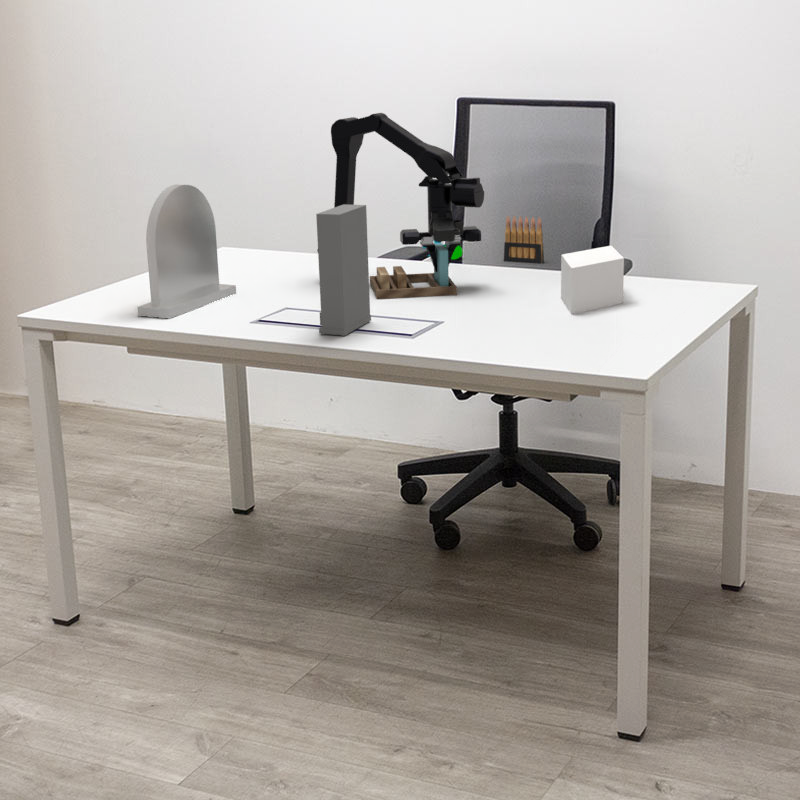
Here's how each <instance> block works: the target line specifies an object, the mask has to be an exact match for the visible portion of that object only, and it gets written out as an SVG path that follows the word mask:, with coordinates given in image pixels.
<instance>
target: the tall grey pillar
mask: <svg viewBox="0 0 800 800" xmlns="http://www.w3.org/2000/svg"><path fill="white" fill-rule="evenodd" d="M315 214H316V232H317V233H316V234H317V249H318V251H317V257H318V275H319V277H318V278H319V280H318V281H319V295H320V312H319V326H320V327H319V328H318V333H319V334H320V335H322V336H324V335H333V336H334V335H335V336H341V337H346V336H347V335H349V334H350V333H352V332H354V331H355V330H357V329H358V328H360V327H362V326H364V325H365V324H367V323H370V321H372V315H371V306H370V305H371V304H370V303H371V302H370V275H369V274H370V272H369V252H368V251H369V246H368V244H369V243H368V220H367V219H368V218H367V216H368V215H367V204H354V205H345V204H343V205H341V206H338V207H335V208H334V207H333V208H329V209H327V210H324V211H321V212H318V213H315Z"/></svg>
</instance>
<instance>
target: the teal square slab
mask: <svg viewBox="0 0 800 800" xmlns="http://www.w3.org/2000/svg"><path fill="white" fill-rule="evenodd" d="M433 243H434V242H433ZM434 244H435V252H436V259H437V272H435V269H434V268H433V273H434V279H435V281H436V282H437V283H438V285H439V286H440V287H443V286H449V278H450V277H449V278H448V276H449V267H448V250H447V248H446V247H445V246H444V245H443V244H444V243H443V242H441V243H434Z"/></svg>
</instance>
